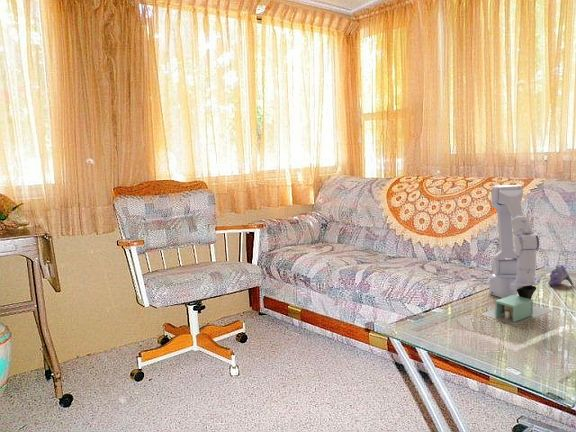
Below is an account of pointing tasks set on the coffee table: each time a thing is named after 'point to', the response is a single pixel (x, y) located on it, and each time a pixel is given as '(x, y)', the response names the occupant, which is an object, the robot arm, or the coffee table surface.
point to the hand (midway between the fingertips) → (524, 306)
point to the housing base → (535, 313)
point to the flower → (559, 276)
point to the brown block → (509, 310)
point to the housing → (515, 306)
